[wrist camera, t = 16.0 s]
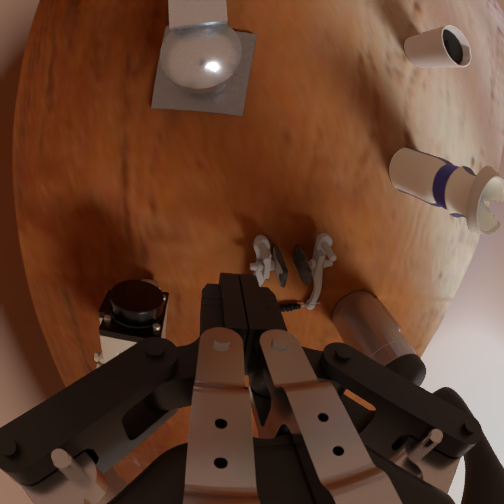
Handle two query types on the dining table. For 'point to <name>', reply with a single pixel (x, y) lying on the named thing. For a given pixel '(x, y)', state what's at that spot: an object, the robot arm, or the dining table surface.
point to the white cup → (438, 48)
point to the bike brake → (301, 262)
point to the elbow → (200, 45)
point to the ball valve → (130, 316)
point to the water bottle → (449, 186)
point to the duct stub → (217, 101)
